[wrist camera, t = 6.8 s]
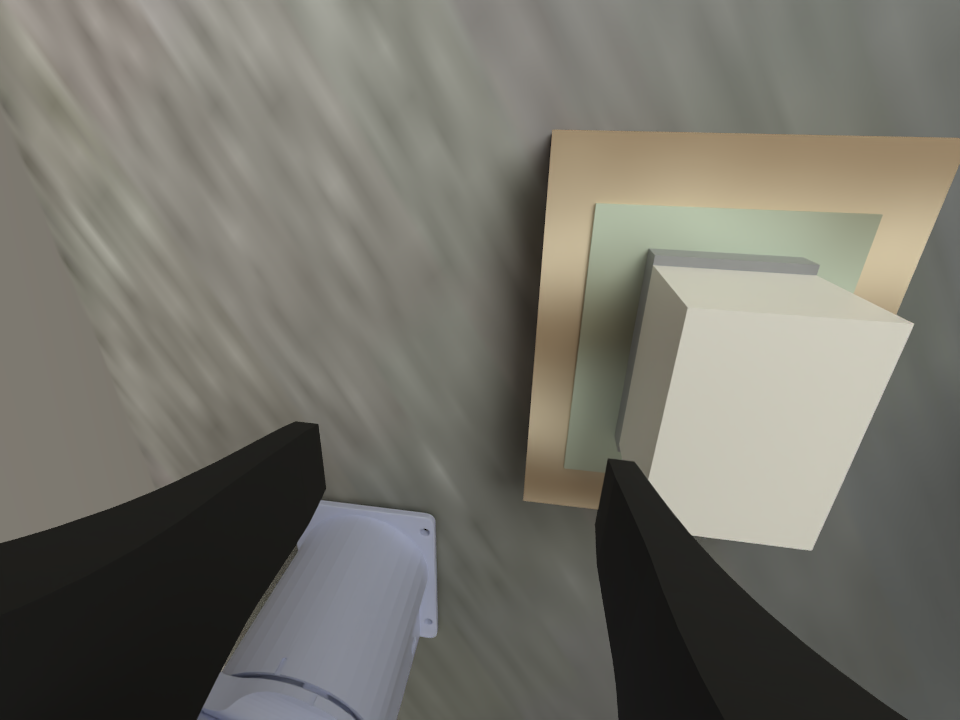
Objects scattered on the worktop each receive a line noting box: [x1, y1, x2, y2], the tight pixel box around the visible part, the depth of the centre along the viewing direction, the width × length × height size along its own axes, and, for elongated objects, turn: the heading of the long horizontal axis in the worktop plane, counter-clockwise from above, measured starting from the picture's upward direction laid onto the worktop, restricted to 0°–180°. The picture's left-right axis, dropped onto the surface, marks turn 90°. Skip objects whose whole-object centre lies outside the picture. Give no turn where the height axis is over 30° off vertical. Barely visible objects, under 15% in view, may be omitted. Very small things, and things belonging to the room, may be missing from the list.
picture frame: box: [523, 130, 960, 509], centre depth 17 cm, size 14×11×3 cm
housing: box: [615, 248, 914, 551], centre depth 14 cm, size 7×4×5 cm, turn 178°
